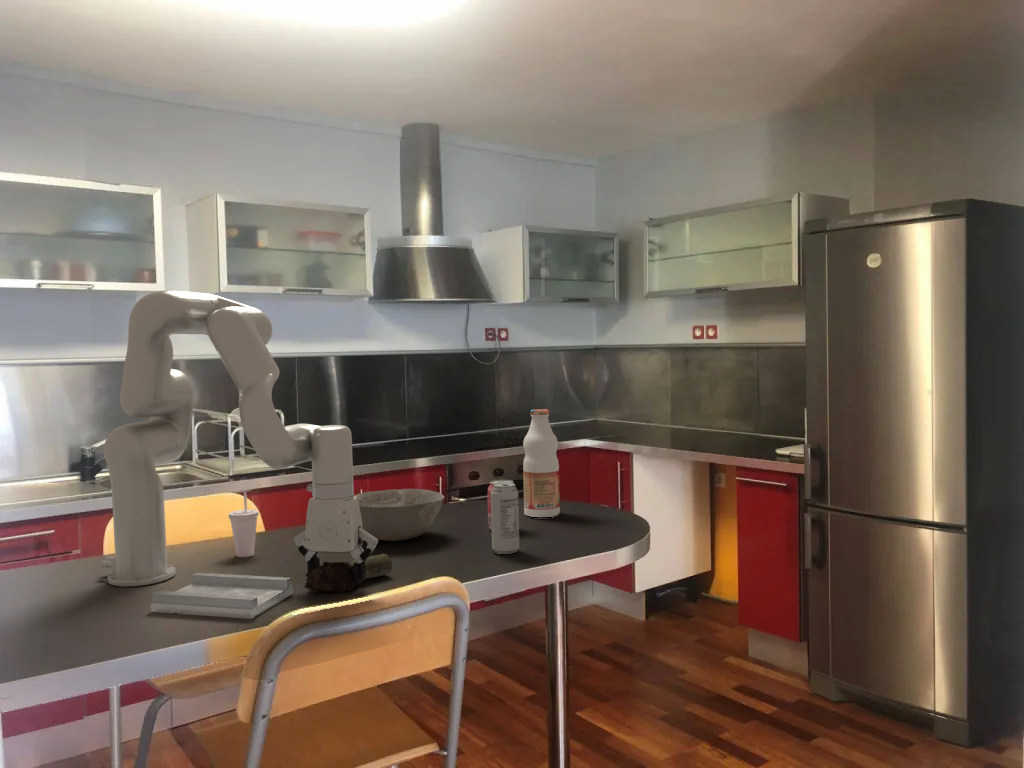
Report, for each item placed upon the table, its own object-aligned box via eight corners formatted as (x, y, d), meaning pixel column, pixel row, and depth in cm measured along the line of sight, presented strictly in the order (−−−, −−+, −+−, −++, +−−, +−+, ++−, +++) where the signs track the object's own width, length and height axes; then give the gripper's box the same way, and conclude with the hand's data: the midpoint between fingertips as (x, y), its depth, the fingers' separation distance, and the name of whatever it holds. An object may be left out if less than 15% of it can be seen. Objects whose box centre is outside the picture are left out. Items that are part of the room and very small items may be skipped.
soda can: (522, 528, 204) (521, 480, 203) (506, 534, 198) (505, 485, 198) (498, 525, 208) (497, 478, 207) (482, 531, 202) (481, 482, 201)
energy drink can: (511, 547, 186) (510, 481, 185) (524, 553, 181) (522, 485, 180) (487, 550, 183) (485, 483, 183) (499, 557, 178) (498, 488, 177)
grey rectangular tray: (151, 611, 147) (150, 594, 146) (199, 588, 160) (198, 572, 160) (251, 618, 142) (250, 600, 142) (292, 593, 155) (291, 577, 155)
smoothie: (265, 554, 185) (263, 492, 184) (239, 560, 180) (236, 496, 179) (251, 549, 189) (248, 489, 188) (224, 555, 184) (222, 493, 184)
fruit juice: (516, 515, 219) (514, 410, 217) (540, 510, 226) (538, 407, 224) (543, 520, 212) (541, 412, 211) (567, 514, 219) (565, 409, 218)
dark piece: (377, 572, 168) (377, 545, 168) (398, 579, 164) (397, 551, 163) (301, 592, 156) (300, 563, 155) (321, 600, 151) (321, 570, 151)
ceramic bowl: (452, 545, 189) (450, 502, 189) (349, 554, 184) (348, 509, 183) (437, 524, 211) (436, 486, 210) (345, 531, 205) (344, 491, 205)
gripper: (281, 493, 155) (285, 584, 156) (367, 495, 151) (371, 589, 152) (301, 486, 162) (305, 573, 163) (384, 488, 158) (387, 577, 159)
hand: (336, 580), depth 157 cm, fingers closed on dark piece, 8 cm apart
